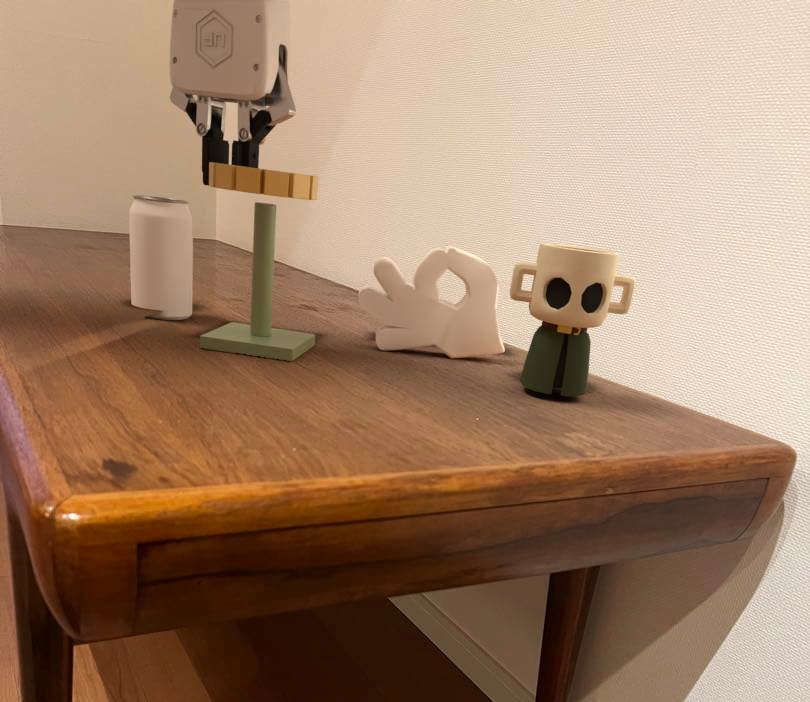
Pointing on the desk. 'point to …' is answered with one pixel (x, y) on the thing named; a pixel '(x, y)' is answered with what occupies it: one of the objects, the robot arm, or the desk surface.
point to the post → (260, 305)
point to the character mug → (567, 312)
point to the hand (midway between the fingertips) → (229, 186)
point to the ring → (263, 181)
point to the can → (161, 256)
